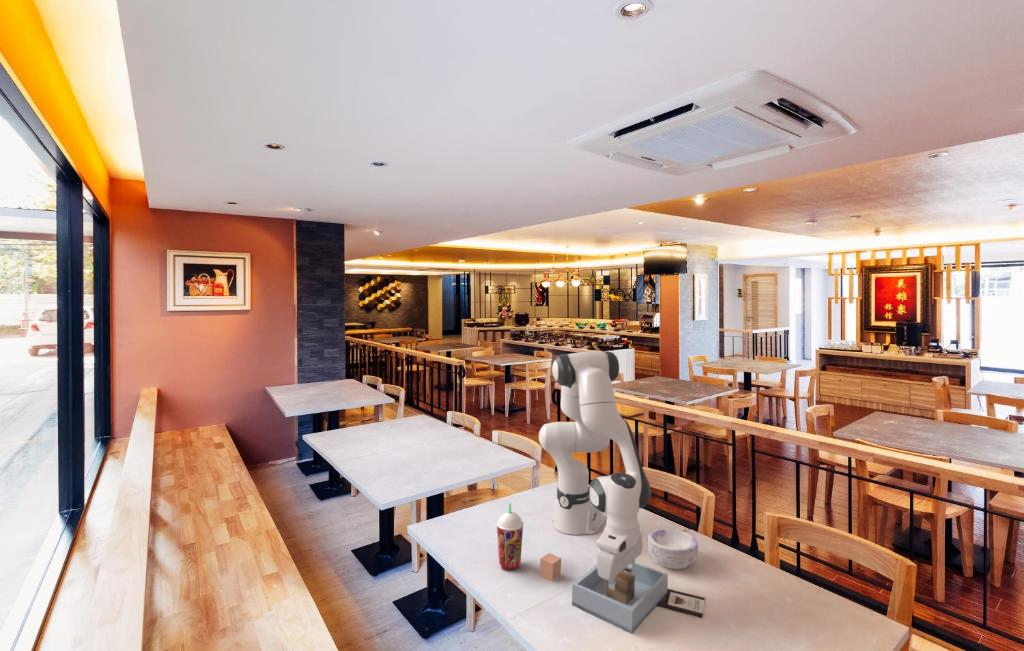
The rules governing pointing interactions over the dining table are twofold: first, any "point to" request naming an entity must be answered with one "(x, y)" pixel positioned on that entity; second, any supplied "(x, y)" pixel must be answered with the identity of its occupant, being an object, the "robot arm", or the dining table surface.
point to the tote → (594, 600)
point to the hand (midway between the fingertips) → (620, 580)
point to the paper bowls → (673, 548)
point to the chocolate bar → (683, 603)
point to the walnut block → (623, 588)
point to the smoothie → (509, 540)
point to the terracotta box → (550, 567)
